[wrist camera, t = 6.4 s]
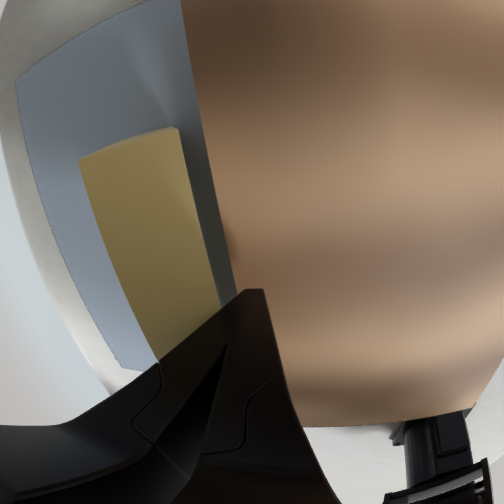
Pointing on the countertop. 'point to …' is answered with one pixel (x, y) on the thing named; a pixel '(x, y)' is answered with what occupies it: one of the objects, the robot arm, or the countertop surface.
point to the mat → (107, 133)
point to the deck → (362, 192)
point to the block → (153, 234)
